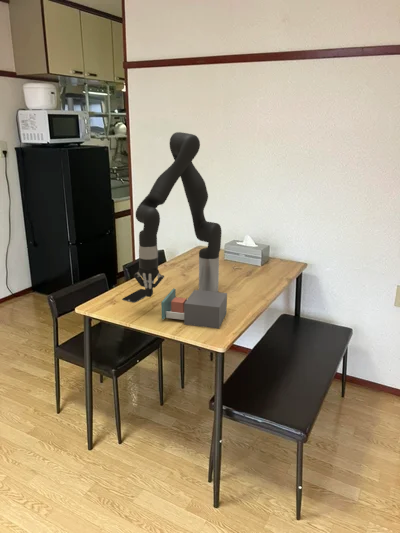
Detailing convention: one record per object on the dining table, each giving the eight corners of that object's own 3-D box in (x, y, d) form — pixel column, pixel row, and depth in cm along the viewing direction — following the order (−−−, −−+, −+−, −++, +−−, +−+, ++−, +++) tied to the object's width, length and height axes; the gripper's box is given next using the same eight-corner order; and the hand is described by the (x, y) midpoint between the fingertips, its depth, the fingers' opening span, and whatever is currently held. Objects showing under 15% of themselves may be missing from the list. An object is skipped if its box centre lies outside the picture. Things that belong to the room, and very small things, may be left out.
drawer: (171, 304, 186) (171, 288, 184) (203, 307, 183) (204, 291, 181) (159, 318, 172) (158, 301, 170) (194, 323, 169) (194, 305, 166)
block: (175, 308, 181) (175, 297, 179) (186, 309, 179) (186, 298, 178) (171, 312, 176) (171, 301, 174) (183, 314, 175) (183, 302, 173)
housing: (194, 309, 184) (194, 289, 181) (226, 313, 181) (227, 293, 178) (184, 324, 170) (184, 303, 167) (219, 328, 167) (219, 307, 164)
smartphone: (120, 299, 194) (140, 288, 206) (120, 300, 194) (140, 289, 206) (134, 302, 190) (154, 291, 203) (134, 304, 190) (154, 292, 203)
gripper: (129, 257, 171) (130, 297, 176) (161, 259, 168) (161, 301, 173) (136, 252, 178) (137, 291, 183) (167, 254, 175) (167, 294, 180)
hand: (149, 296), depth 178 cm, fingers closed
